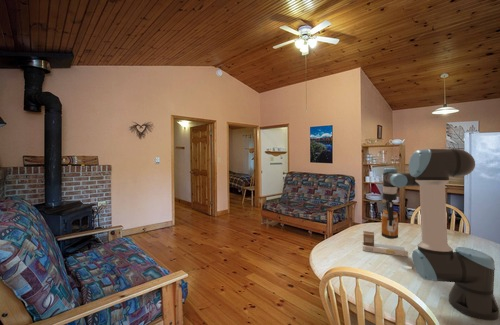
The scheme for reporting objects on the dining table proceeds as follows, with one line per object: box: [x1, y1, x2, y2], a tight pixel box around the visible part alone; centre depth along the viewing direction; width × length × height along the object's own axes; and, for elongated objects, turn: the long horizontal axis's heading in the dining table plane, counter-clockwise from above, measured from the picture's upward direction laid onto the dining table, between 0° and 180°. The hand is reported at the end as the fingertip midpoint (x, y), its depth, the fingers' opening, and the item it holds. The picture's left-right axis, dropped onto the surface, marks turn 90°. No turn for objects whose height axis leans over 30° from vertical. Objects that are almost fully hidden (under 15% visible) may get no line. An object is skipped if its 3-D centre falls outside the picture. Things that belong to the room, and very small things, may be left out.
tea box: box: [362, 230, 375, 246], centre depth 158 cm, size 6×6×9 cm
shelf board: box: [361, 241, 409, 259], centre depth 155 cm, size 14×24×4 cm, turn 66°
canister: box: [381, 204, 399, 240], centre depth 153 cm, size 9×11×20 cm
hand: (389, 227), depth 153 cm, fingers closed on canister, 11 cm apart
